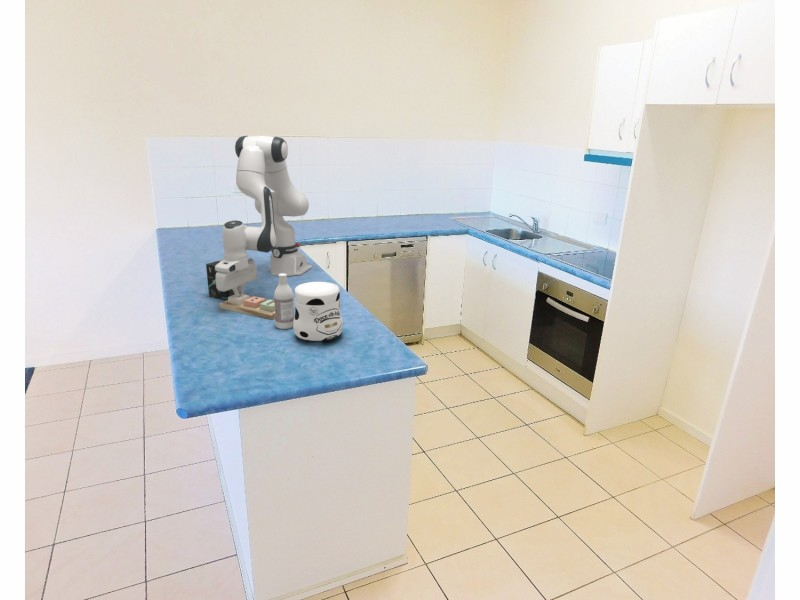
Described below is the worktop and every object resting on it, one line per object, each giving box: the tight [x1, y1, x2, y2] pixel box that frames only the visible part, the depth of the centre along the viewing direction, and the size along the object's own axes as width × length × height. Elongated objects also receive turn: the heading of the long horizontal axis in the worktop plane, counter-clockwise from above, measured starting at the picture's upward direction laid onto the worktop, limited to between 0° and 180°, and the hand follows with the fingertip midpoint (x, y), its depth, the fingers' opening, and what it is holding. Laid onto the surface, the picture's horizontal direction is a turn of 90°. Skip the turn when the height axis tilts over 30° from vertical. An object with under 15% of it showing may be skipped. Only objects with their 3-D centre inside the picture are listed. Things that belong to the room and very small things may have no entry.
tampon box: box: [205, 259, 239, 302], centre depth 225 cm, size 11×9×15 cm
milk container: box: [292, 281, 344, 343], centre depth 187 cm, size 17×17×18 cm
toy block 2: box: [244, 295, 267, 309], centre depth 213 cm, size 6×6×4 cm
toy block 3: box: [260, 299, 275, 312], centre depth 210 cm, size 6×6×4 cm
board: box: [218, 296, 275, 321], centre depth 213 cm, size 12×26×2 cm, turn 65°
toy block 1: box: [228, 293, 251, 305], centre depth 216 cm, size 6×6×4 cm
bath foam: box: [273, 273, 295, 330], centre depth 195 cm, size 7×7×20 cm
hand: (238, 295), depth 215 cm, fingers closed, pressing on toy block 1
